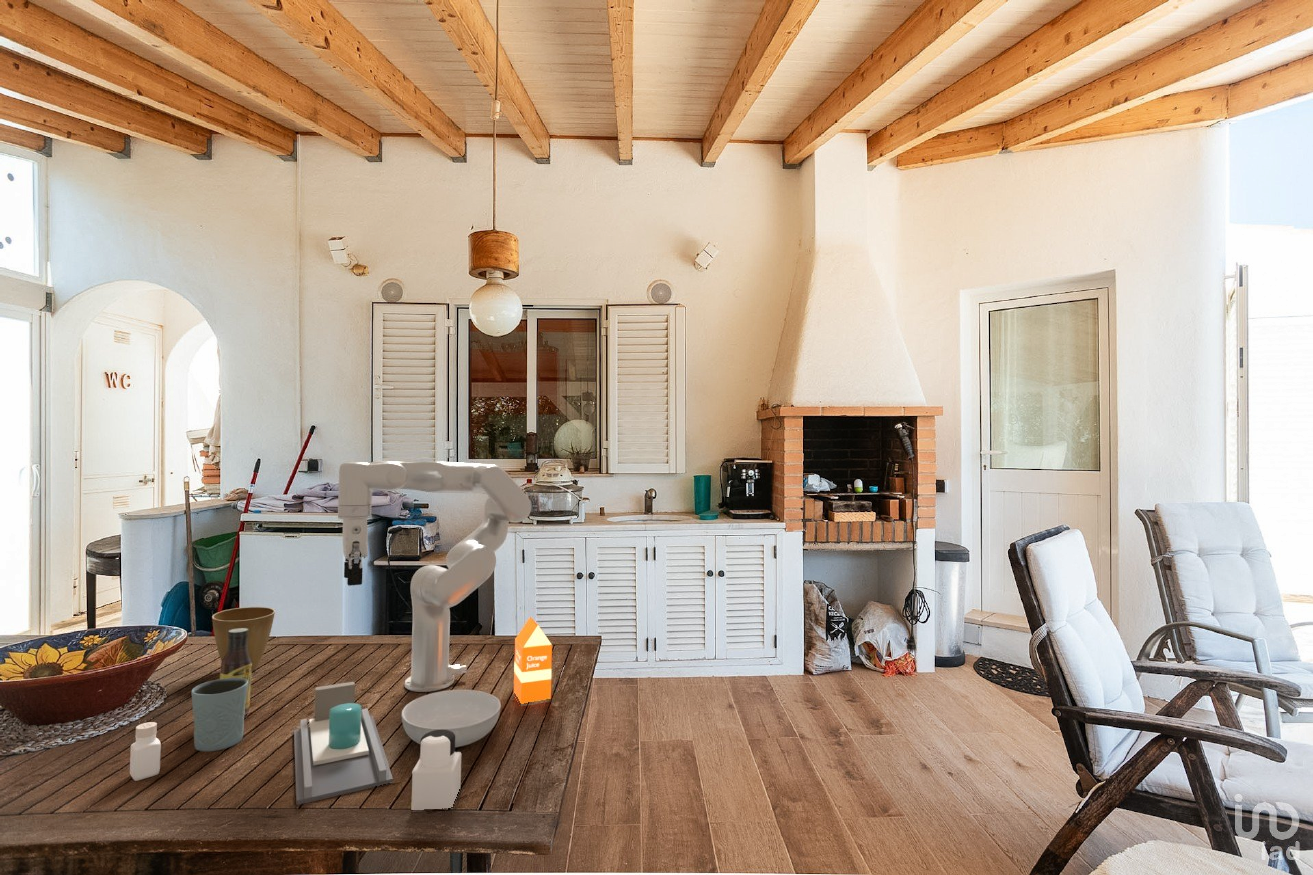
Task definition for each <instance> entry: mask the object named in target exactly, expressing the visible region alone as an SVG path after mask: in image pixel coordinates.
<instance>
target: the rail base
mask: <svg viewBox="0 0 1313 875" xmlns="http://www.w3.org/2000/svg"><path fill="white" fill-rule="evenodd" d="M375 721H376V720H375V718H374V716H373V715H370V712H369V708H367V707H366V708H361V724H362V727H363V731H364V735H365V738H366V742H367V746H368V749H369V754H368V755H363V756H358V757H353V758H348V759H344V760H339V761H334V762H329V763H324V764H319V765H314V766H313V759H312V748H311V736H310V726H309V727H308V718H304V719H300V727H299V728H297V729H293V730H294V731H293V743H294V744H293V746H294V770H295V777H294V778H295V797H296V798H295V801H296V802H295V803H296V806H299V805H303V804H307V803H312V802H315V801H321V800H325V799H328V798H329V799H330V798H333V797H337V796H343V795H347V794H350V793H351V794H352V793H354V792H359V791H363V790H368V788H369V789H373V788H376V787H375V786H377V787H381V786H380V785H382V786H384V785H383V784H386V785H388V784H387V783H390V782H393V783H394V778H393V775H392V772H391V768H390V764H389V761H388V759H387V755H386V753H385V750H384V746H383V744H382V740H381V736H380V734H379V730H378V728H377V725H376V722H375ZM390 784H391V783H390ZM372 787H373V788H372Z"/></svg>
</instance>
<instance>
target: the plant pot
mask: <svg viewBox="0 0 1313 875" xmlns="http://www.w3.org/2000/svg"><path fill="white" fill-rule="evenodd" d="M275 615H276V609H274V608H271V607H267V606H266V607H263V606H247V607H246V606H245V607H238V608H237V607H236V608H230V609H225V610H221V611H219V612H216V613H214V614H212V616H211V622H212V629H213V634H214V635H213V636H214V641H215V645H216V650H217V652H218V655H219V659H220V661H221V662H222V659H223V658H224V656H225V655H226V653H227V652H228V643H229V638H228V631H229V630H232V629H238V628H247V629H248V630H249V631H248V633H249V634H248V636H247V649H248V653H249V656H250V660H251V662H252V672H254V671H256V670H257V669H258V667H259V665H260V662H261V660H262V658H263V656H264V652H265V650H266V648H267V644H268V642H269V639H270V635H271V632H272V628H273V624H274V619H275Z"/></svg>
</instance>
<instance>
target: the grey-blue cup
mask: <svg viewBox="0 0 1313 875" xmlns="http://www.w3.org/2000/svg"><path fill="white" fill-rule="evenodd" d="M247 690H248V680H246V679H243V678H225V679H220V678H218V679H215V680H210V681H206V682H203V683H200V684H198V685H196V686H195V687H193V688H192V689H191V703H192V714H193V727H194V731H193V741H194V742H193V745H194V749H195V750H197V751H200V752H214V751H221V750H225V749H227V748H231V747H233V746H236V745H237V744H239V743H240V742H241V741H242V739H243V737H244V729H245V728H244V727H245V716H246V715H245V703H246V698H247Z"/></svg>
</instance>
